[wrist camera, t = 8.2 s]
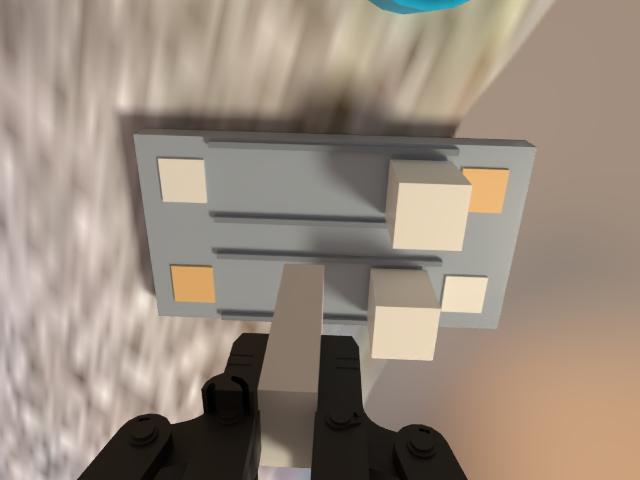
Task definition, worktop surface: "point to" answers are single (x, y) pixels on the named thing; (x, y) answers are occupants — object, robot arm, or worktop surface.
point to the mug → (416, 5)
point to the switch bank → (317, 220)
